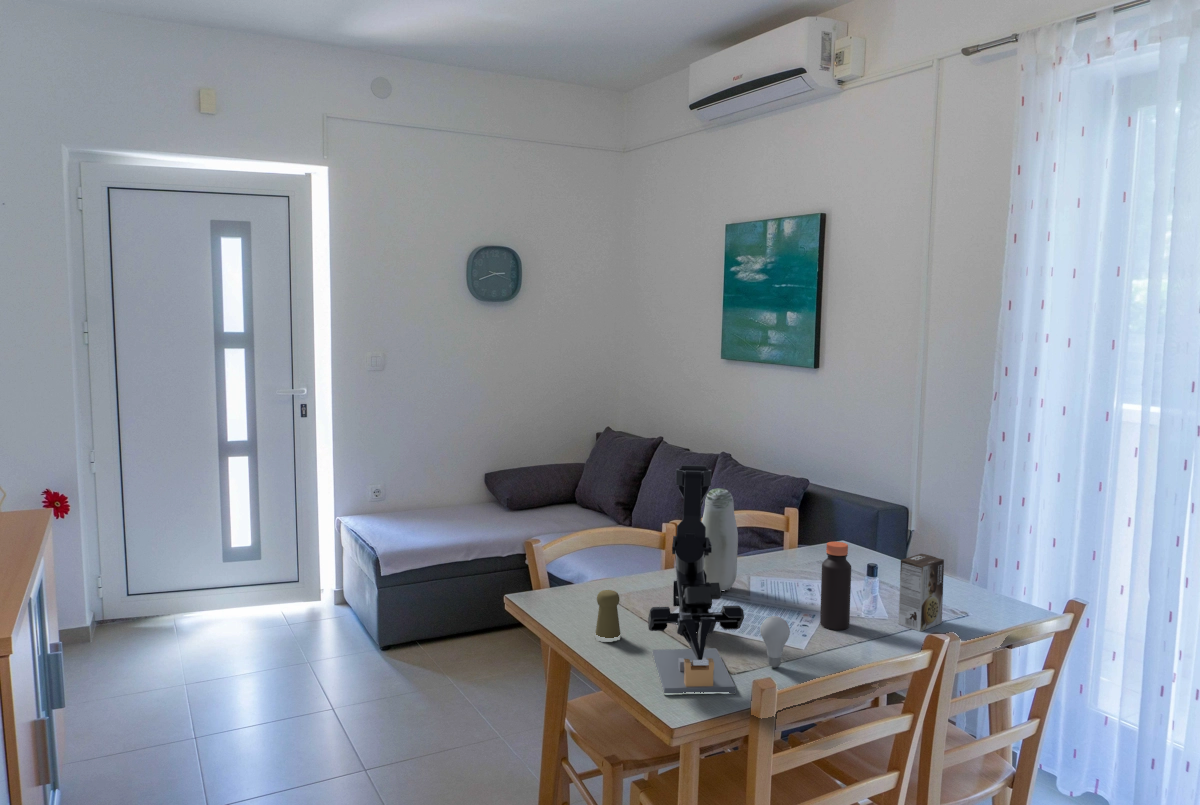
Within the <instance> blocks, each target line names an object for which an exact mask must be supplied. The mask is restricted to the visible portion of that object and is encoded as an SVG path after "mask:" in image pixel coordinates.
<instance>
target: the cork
mask: <svg viewBox="0 0 1200 805" xmlns="http://www.w3.org/2000/svg"><path fill="white" fill-rule="evenodd" d="M596 596H597V597H596V603H597V604H598V612H597V621H596V626H595V627H596V628H595V633H596V635H598V636H600V637H605V638H614V637H618V636H619V635H620V634H621V629H620V628H621V627H620V620H619V619H620V618H619V611H618V610H619V609H618V605H619V603H620V595H619V593H618V592H617V591H615V590H612V589H603V590H601V591H599V592H598V594H597V595H596Z"/></svg>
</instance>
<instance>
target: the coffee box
mask: <svg viewBox="0 0 1200 805" xmlns="http://www.w3.org/2000/svg"><path fill="white" fill-rule="evenodd" d="M944 569H945V559H942V558H939V557H936V556H934V555H929V554H927V553H919V554H918V553H917V554H915V555H912V556H909V557H906V558H902V559H900V571H899V572H900V573H899V575H900V576H899V600H898V601H899V602H898V625H900V626H903V627H906V628H908V629H912V630H915V631H917V632H923V631H926V630H928V629H931V628H934V627H935V626H938V625H940V624H942V623H943V604H944V603H943V600H944V599H943V597H944V576H945V575H944V574H945V573H944V572H945V570H944Z"/></svg>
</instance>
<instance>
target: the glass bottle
mask: <svg viewBox="0 0 1200 805" xmlns="http://www.w3.org/2000/svg"><path fill="white" fill-rule="evenodd" d="M734 507H735V505H734V498H733V495H732V493H731V492H730V491H729V490H727V489H725V488H719V487H718V488H713V489H710V490H708V493H707V494H706V496H705V501H704V508H703V516H702V517H701V522H702V523H703V524H704V525H705V527H706V537H709V539H710V542H711V543H712V553H709V556H705V558H704V567H703V569H704V571H705V573H706V575H707V579H706V582H709V584H710V583H719V585H720V591H722V590H727V591H728V589H729V590H730V589H731V588H732V586H733V585H734V583H735V582H736V579H737V572H738V548H739V545H738V544H739V533H738V526H737V520H736V516H735V508H734Z"/></svg>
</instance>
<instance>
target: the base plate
mask: <svg viewBox="0 0 1200 805" xmlns="http://www.w3.org/2000/svg"><path fill="white" fill-rule="evenodd" d="M653 656H654V659H653V661H654V660H655V663H656V666H655V668H656V667H657V669H656V671H657V670H658V673H659V676H658V678H659V677H660V680H661V683H662V686H661V688H662V687H663V690H664V693H683V692H684V693H686V692H694V693H695V692H700V693H701V692H703V693H704V692H729V693H735V694H736V685H735V683H734V681H733V678H732V677H731V675H730V673H729V672H728V669H727V667H726V665H725V663H724V661H723V659H722V657H721V655H720V653H719V651H718V649H717V648H715V647H714V648H704V654H703V658H702V660H708V661H709V665H707V666H691V662H690V661H691V660H698V659H697V657H696V656H695V654H694V652H693V650H692V648H672V649H671V648H670V649H669V648H665V649H663V648H662V649H659V648H658V649H652V657H653ZM655 663H654V664H655ZM658 673H657V674H658ZM660 680H659V681H660ZM661 683H660V684H661ZM663 690H662V691H663ZM664 693H663V694H664Z"/></svg>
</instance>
